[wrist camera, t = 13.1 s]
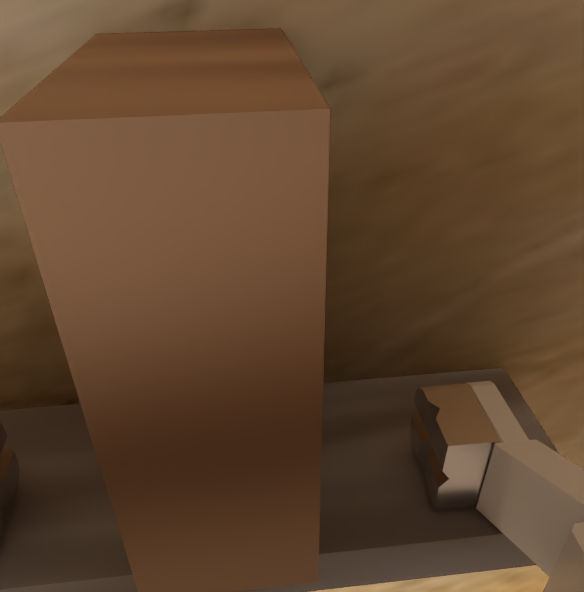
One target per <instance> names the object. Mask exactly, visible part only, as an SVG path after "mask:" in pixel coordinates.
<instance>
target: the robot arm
mask: <svg viewBox="0 0 584 592" xmlns="http://www.w3.org/2000/svg"><path fill="white" fill-rule="evenodd" d="M414 403H415V405H416V408H417V410H418V411H417V412H416V413H415V414H414V415H413V416H412V417H411V426H410V435H411V444H412V449H413V453H414V456H415V459H416V461H417V463H418V464H419V465H420V466H422V467H423V468H424V469H426V471H425V477H424V483H425V486H426V488H427V491H428V494H429V496H430V499H431V502H432V504H433V507H434V509H445V508H458V507H472V506H477V507H476V509H477V510H478V511H480V512H481V513H482V514H483V515H484V516H485V517H486V518H487V519H488V520H489V521H490V522H491V523H492V524H493V525H495V526H496V527H497V528H498V529H499V530H500V531H501V532H502V533H503V534H504V535H505V536H506V537H507V538H509V539H510V540H511V541H512V542H513V543H514V544H515V545H516V546H517V547H518V548H519V549H520V550H521V551H522V552H524V553H525V554H526V555H527V556H528V557H529V558H530V559H531V560H532V561H533V562H534V563H535V564H536V565H537V566H539V567H540V568H541V569H542V570H543V571H544V572H545V573H546V574H547V575H548V576H549V577H550V578H549V580H548V582H547V584H546V586H545V589H544V591H543V592H584V469H583V468H581V467H579V466H578V465H576V464H575V463H573V462H571V461H570V460H568V459H567V458H565V457H563V456H562V455H560V454H559V453H557V452H555V451H554V450H552V449H551V448H549V447H547V446H546V445H544V444H543V443H541V442H539V441H538V440H529V439H528V438H527V436H526V434H525V433H524V431H523V429H522V428H521V426H520V425H519V423H518V421H517V420H516V418H515V416H514V415H513V413H512V411H511V410H510V408H509V407H508V405H507V403H506V402H505V400H504V398H503V397H502V395H501V394H500V392H499V390H498V389H497V387H496V385H495V384H494V383H493V382H491V381H481V382H471V383H466V384H464V383H461V384H450V385H439V386H429V387H418V389H417V391H416V393H415V399H414ZM7 436H8V435H7V433H6V431H5V429H4V427H3V425H2V424H0V538H1V535H2V532H3V529H4V527H5V524H6V520H5V518H4V516H3V513H2V511H3V510H4V509H5V508H6V507H8V506H9V505H10V504H11V503H12V502H13V501H14V499H15V496H16V493H17V490H18V484H19V474H20V471H19V464H18V460H17V457H16V455H15V452H14V451H12V450H11V449H9V448H8V447H6V446H4V444H5V441H6V439H7Z"/></svg>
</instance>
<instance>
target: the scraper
mask: <svg viewBox="0 0 584 592" xmlns="http://www.w3.org/2000/svg"><path fill="white" fill-rule="evenodd" d="M329 139H330V107H329V106H328V104H327V103H326V101H325V99H324V98H323V96H322V94H321V93H320V91H319V90H318V88H317V86H316V85H315V83H314V81H313V80H312V78H311V77H310V75H309V73H308V72H307V70H306V68H305V67H304V65H303V64H302V62H301V60H300V59H299V57H298V55H297V54H296V52H295V51H294V49H293V47H292V46H291V44H290V43H289V41H288V39H287V38H286V36H285V34H284V33H283V31H282V30H281V28H278V29H245V30H211V31H178V32H145V33H112V34H96V35H95V36H94V37H92V38H91V39H90V40H89V41H88V42H87V43H86V44H84V45H83V46H82V47H81V48H80V49H79V50H77V51H76V52H75V53H74V54H73V55H72V56H71V57H69V58H68V59H67V60H66V61H65V62H64V63H63V64H61V65H60V66H59V67H58V68H57V69H56V70H55V71H53V72H52V73H51V74H50V75H49V76H48V77H46V78H45V79H44V80H43V81H42V82H41V83H40V84H38V85H37V86H36V87H35V88H34V89H33V90H32V91H30V92H29V93H28V94H27V95H26V96H25V97H24V98H22V99H21V100H20V101H19V102H18V103H17V104H15V105H14V106H13V107H12V108H11V109H10V110H9V111H7V112H6V113H5V114H4V115H3V116H2V117H1V118H0V143H1V147H2V150H3V153H4V156H5V160H6V163H7V166H8V169H9V173H10V176H11V179H12V182H13V186H14V189H15V192H16V195H17V199H18V202H19V205H20V209H21V212H22V215H23V218H24V222H25V225H26V228H27V231H28V235H29V238H30V241H31V244H32V248H33V251H34V254H35V257H36V261H37V264H38V267H39V271H40V274H41V277H42V280H43V284H44V287H45V290H46V293H47V297H48V300H49V303H50V306H51V310H52V313H53V316H54V319H55V323H56V326H57V329H58V332H59V336H60V339H61V342H62V346H63V349H64V352H65V355H66V359H67V362H68V365H69V368H70V372H71V375H72V378H73V381H74V385H75V388H76V391H77V394H78V398H79V401H80V404H68V405H56V406H44V407H33V408H21V409H9V410H0V424H2V425H3V427H4V429H5V431H6V433H7V435H8V436H7V439H6V441H5V444H4V446H6V447H8V448H9V449H11V450H12V451H14V452H15V455H16V457H17V460H18V464H19V471H20V474H19V484H18V490H17V493H16V496H15V499H14V501H13V502H12V503H11V504H10V505H9V506H8V507H6V508H5V509H4V510H3V511H2V513H3V516H4V518H5V520H6V524H5V527H4V529H3V532H2V535H1V538H0V592H308V591H317V590H325V589H334V588H342V587H351V586H360V585H368V584H377V583H385V582H394V581H403V580H411V579H420V578H428V577H437V576H446V575H454V574H463V573H471V572H480V571H489V570H497V569H506V568H514V567H523V566H532V565H536V564H535V563H534V562H533V561H532V560H531V559H530V558H529V557H528V556H527V555H526V554H525V553H524V552H522V551H521V550H520V549H519V548H518V547H517V546H516V545H515V544H514V543H513V542H512V541H511V540H510V539H509V538H507V537H506V536H505V535H504V534H503V533H502V532H501V531H500V530H499V529H498V528H497V527H496V526H495V525H493V524H492V523H491V522H490V521H489V520H488V519H487V518H486V517H485V516H484V515H483V514H482V513H481V512H480V511H478V510H477V509H476V507H477V506H472V507H458V508H445V509H434V507H433V504H432V502H431V499H430V496H429V494H428V491H427V488H426V486H425V483H424V477H425V471H426V469H424V468H423V467H422V466H420V465H419V464H418V463H417V461H416V459H415V456H414V453H413V449H412V444H411V435H410V426H411V417H412V416H413V415H414V414H415V413H416V412H417V411H418V410H417V408H416V405H415V403H414V399H415V393H416V391H417V389H418V387H429V386H439V385H450V384H461V383H464V384H466V383H471V382H481V381H491V382H493V383H494V384H495V385H496V387H497V389H498V390H499V392H500V394H501V395H502V397H503V398H504V400H505V402H506V403H507V405H508V407H509V408H510V410H511V411H512V413H513V415H514V416H515V418H516V420H517V421H518V423H519V425H520V426H521V428H522V429H523V431H524V433H525V434H526V436H527V438H528V439H529V440H538V441H539V442H541V443H543V444H544V445H546V446H547V447H549V448H551V449H552V450H554V451H555V452H557V453H558V451H557V450H556V448H555V447H554V445H553V443H552V442H551V440H550V439H549V437H548V436H547V434H546V433H545V431H544V430H543V428H542V426H541V425H540V423H539V422H538V420H537V419H536V417H535V416H534V414H533V413H532V411H531V409H530V408H529V406H528V405H527V403H526V402H525V400H524V399H523V397H522V396H521V394H520V392H519V391H518V389H517V388H516V386H515V385H514V383H513V382H512V380H511V379H510V377H509V375H508V374H507V372H506V371H505V369H504V368H492V369H480V370H468V371H456V372H445V373H433V374H421V375H409V376H398V377H386V378H374V379H362V380H351V381H339V382H327V383H323V375H324V336H325V297H326V257H327V218H328V179H329Z"/></svg>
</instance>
